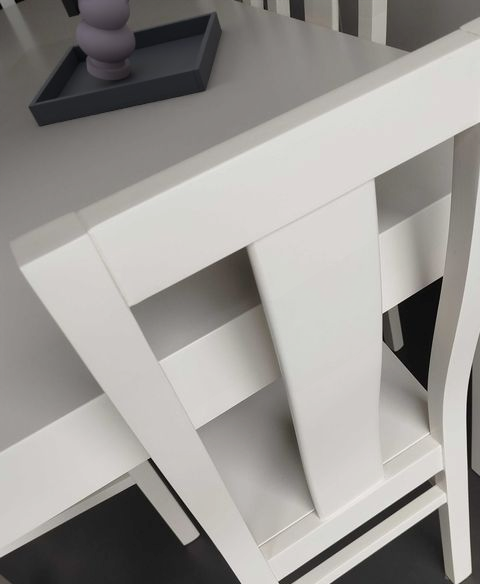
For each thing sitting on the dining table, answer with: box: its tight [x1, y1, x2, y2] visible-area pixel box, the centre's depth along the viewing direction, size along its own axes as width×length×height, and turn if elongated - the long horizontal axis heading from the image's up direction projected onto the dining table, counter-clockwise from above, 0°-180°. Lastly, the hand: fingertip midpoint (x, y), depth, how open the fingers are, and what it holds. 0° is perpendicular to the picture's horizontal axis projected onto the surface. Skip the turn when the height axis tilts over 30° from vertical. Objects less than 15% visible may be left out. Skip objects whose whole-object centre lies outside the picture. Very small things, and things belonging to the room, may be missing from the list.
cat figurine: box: [75, 0, 136, 80], centre depth 86 cm, size 8×8×12 cm
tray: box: [27, 10, 222, 127], centre depth 90 cm, size 26×22×3 cm
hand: (76, 12), depth 85 cm, fingers closed
